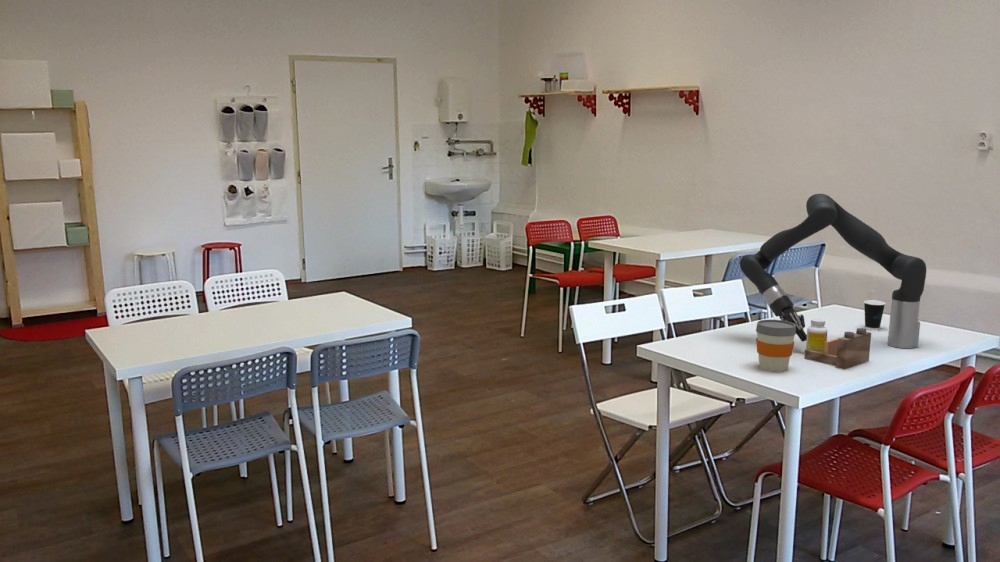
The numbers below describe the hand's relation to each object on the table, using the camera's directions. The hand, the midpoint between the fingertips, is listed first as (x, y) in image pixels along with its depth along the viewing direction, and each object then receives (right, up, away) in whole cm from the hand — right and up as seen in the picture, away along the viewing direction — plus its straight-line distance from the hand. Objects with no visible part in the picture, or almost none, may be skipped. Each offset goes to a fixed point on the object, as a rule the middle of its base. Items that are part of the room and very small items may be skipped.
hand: (805, 340), depth 286 cm
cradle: (+7, -6, -7) cm, 12 cm away
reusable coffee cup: (-17, -8, -16) cm, 25 cm away
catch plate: (+7, -5, -7) cm, 11 cm away
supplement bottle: (+3, -5, -2) cm, 6 cm away
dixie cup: (+40, +2, +36) cm, 54 cm away
